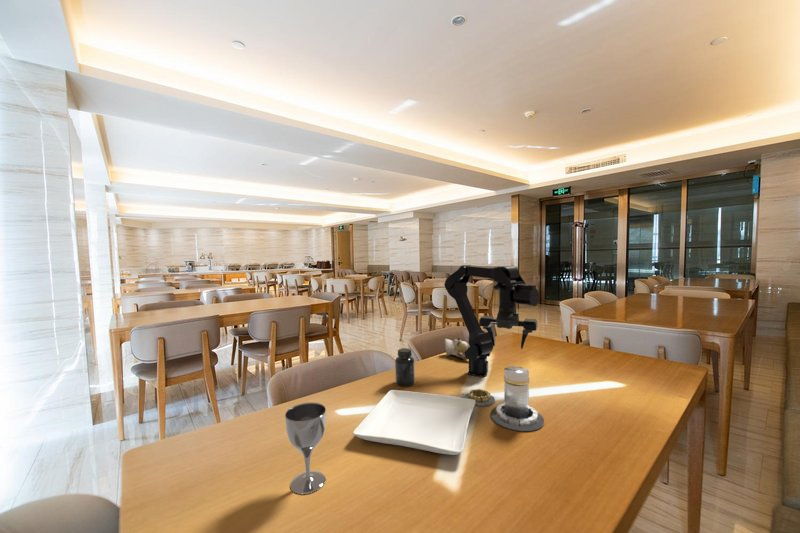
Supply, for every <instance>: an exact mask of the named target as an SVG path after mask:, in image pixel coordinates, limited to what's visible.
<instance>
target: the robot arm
mask: <svg viewBox="0 0 800 533" xmlns="http://www.w3.org/2000/svg"><path fill="white" fill-rule="evenodd" d="M471 277H478V278H484V279H491V280H492V281H493V282H496V284H495V285H494V286H493V289H494V290H498V312H497V314H496V315H497V316H496V318H494V316H493V315H483V316H481V317H480V318H479V319H477V316H476V314H475V311H474V309H473V306H472V303H471V302H470V300H469V297H468V283H469V282H470V281H471ZM444 287H445V288H444V289H445V291H446V292H447V293H448V295H449V296H450V297H451V298H452V299H453V300H454V301H455V303H456V305H457V308H458V310H459V312H460V316H461V317H462V320H463V322H464V326H465V327H466V329H467V332H468V342H467V343H468V344H469V346H470V347H469V348H468V349H467V350H466V351H465V352H464V353H465V357H466V358H468V359H467V360H468V371H467V375H470V376H475V377H483V378H484V377H486V375H487V374H488V373H489V361H488V360H487V358H488V357H490V356H491V353H492V352H493V349H494V347H495V346H496V329H495V325H496V327H497V328H498V329H508V330H511V329H512V328H513V327H522V328H523V329H522V331H521V332H522V336H521V341H520V342H521V343H520V350H523V348H524V347H525V343H526V340H527V337H528V335H529V334H531V333H533V332H534V331H535V332H536V331H537V330H538V325H539V324H538V322H539V321H538V320H537V319H536V318H534V319H533V318H524V320H520V315H519V313H517V305H521V306H531V307H536V306H538V305H539V302H540V297H541V295H540V292H539V290H538V289H537V285H536V284H526V282H525V280H524V279H523V277H522V275H521V274H520V271H519V269H518V267H517V266H515V265H506V266H498V267H496V266H495V267H490V266H481V265H478V266H477V265H471V264H465V265H464V264H463V265H461V266H460V267H459V268H458V269H456V271H454V272H453V273H451V274H450V276H448V277H447V278H446V279H445V280H444ZM481 327H482V328H483V329H484V330H486V332H485V331H484V330H483V329H482V328H481Z"/></svg>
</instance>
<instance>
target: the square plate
mask: <svg viewBox="0 0 800 533" xmlns="http://www.w3.org/2000/svg"><path fill="white" fill-rule="evenodd" d="M475 403H476V401H475V400H474V399H467V398H465V397H458V396H452V395H445V394H435V393H426V392H418V391H409V390H397V389H390V390H389V391H388V392H387V393H385V395H384V396H383V397H382V399H381V400H380V401H379V402H378V403H377V404H376V405H375V406H374V407H373V409H372V410H371V411H370V412H369V413H368V414H367V415H366V416H365V418H364V419H363V420H362V421H361V422H360V423H359V424H358V425H357V426H356V428H355V429H354V430H353V432H352V435H354V436H356V437H358V438H359V439H361V440H365V441H369V442H375V443H381V444H387V445H394V446H400V447H407V448H412V449H415V450H421V451H428V452H432V453H436V454H443V455H449V456H455V455H456V456H457V455H459V454H460V453H462V452H464V448H465V445H466V444H465V443H466V438H467V432H468V427H469V422H470V419H471V416H472V414H473V410H474V409H475V407H476V406H475Z"/></svg>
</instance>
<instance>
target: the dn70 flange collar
mask: <svg viewBox="0 0 800 533" xmlns="http://www.w3.org/2000/svg"><path fill="white" fill-rule="evenodd" d="M490 418H491V420H492V421H493V422H494V423H495V424H497V426H500V427H502V428H504V429H507V430H511V431H514V432H525V433H527V432H534V431H538V430H540V429H542V428H543V427H544V424H545V419H544V416H543V415H542V414H540V413H539V411H537V410H536V409H535V408H534V407H532V406H530V405H529V418H526V419H517V418H512V417H509V416H507V415H505V403H504V402H502V403H500V404H498V405H497V406H495V407H493V408H492V409H491V411H490Z"/></svg>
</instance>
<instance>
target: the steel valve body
mask: <svg viewBox="0 0 800 533" xmlns="http://www.w3.org/2000/svg"><path fill="white" fill-rule="evenodd" d="M503 373H504V375H503V382H504V402H503V403H505V415H507V416H509V417H512V418H517V419H526V418H529V406H530V387H529V386H530V370H529V369H527V368H525V367H522V366H517V365H514V366H513V365H512V366H511V365H510V366H506V367H504V371H503Z"/></svg>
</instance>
